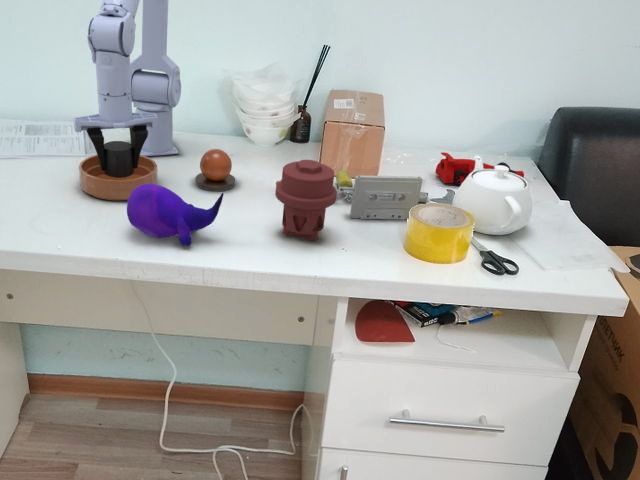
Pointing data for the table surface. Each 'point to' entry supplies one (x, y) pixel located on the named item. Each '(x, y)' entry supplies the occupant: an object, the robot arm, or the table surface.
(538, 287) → the table surface
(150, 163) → the round terracotta dish
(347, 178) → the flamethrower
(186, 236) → the toy
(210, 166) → the sphere on round base
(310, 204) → the mechanical component
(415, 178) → the cassette
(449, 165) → the toy car
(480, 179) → the teapot
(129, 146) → the cap
